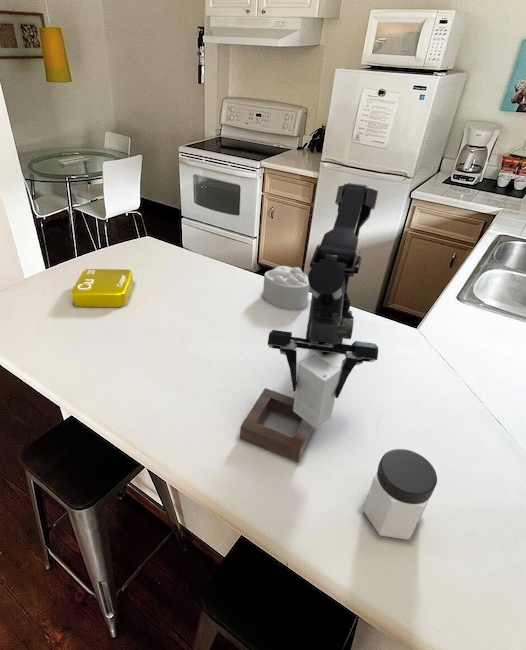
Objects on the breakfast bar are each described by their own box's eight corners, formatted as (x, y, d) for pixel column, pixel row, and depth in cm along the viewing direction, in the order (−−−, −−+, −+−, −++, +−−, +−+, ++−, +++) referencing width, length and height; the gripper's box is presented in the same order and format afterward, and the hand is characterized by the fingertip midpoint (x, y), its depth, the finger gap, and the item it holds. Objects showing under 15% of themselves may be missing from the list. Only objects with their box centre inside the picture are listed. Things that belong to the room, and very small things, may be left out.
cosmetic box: (331, 418, 82) (341, 370, 75) (316, 430, 80) (325, 381, 73) (306, 400, 86) (314, 352, 79) (291, 410, 83) (297, 362, 76)
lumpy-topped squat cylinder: (282, 284, 136) (284, 258, 131) (315, 301, 128) (319, 274, 123) (258, 296, 130) (259, 270, 125) (292, 314, 122) (295, 287, 117)
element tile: (125, 307, 124) (123, 293, 122) (72, 307, 124) (68, 292, 122) (134, 281, 137) (133, 267, 134) (86, 280, 137) (83, 267, 134)
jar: (378, 483, 78) (394, 438, 71) (425, 511, 74) (446, 465, 67) (355, 520, 72) (369, 474, 66) (404, 552, 68) (424, 506, 61)
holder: (264, 399, 95) (265, 387, 93) (318, 419, 90) (320, 407, 88) (239, 438, 86) (240, 426, 84) (298, 462, 82) (300, 450, 80)
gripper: (272, 291, 74) (258, 385, 71) (389, 305, 70) (378, 403, 68) (275, 305, 85) (263, 386, 82) (376, 317, 81) (367, 403, 79)
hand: (315, 394), depth 78 cm, fingers closed on cosmetic box, 7 cm apart
